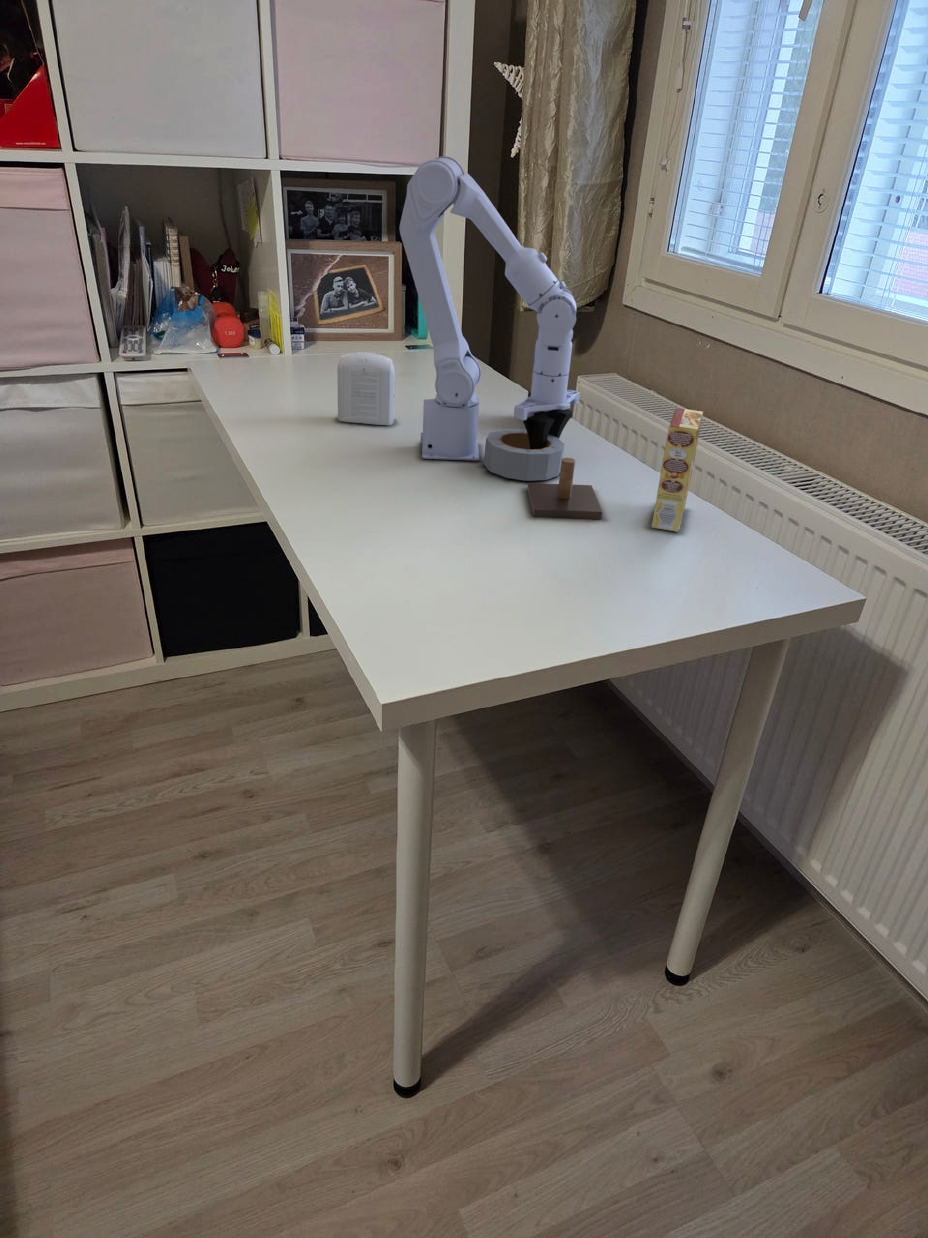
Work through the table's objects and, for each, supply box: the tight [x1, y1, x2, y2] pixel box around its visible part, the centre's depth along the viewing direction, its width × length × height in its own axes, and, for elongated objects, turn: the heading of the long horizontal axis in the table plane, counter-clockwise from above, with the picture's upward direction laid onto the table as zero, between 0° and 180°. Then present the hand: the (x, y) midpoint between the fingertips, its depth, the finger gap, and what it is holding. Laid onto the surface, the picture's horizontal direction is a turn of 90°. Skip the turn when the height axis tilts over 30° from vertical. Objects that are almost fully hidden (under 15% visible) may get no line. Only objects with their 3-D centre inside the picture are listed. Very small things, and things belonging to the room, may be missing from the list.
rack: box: [526, 457, 603, 520], centre depth 126 cm, size 10×10×7 cm
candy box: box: [651, 407, 704, 533], centre depth 121 cm, size 9×4×15 cm, turn 162°
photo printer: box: [336, 351, 396, 426], centre depth 152 cm, size 10×4×12 cm, turn 86°
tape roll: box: [483, 428, 565, 482], centre depth 138 cm, size 13×13×4 cm
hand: (542, 453), depth 142 cm, fingers closed on tape roll, 2 cm apart
